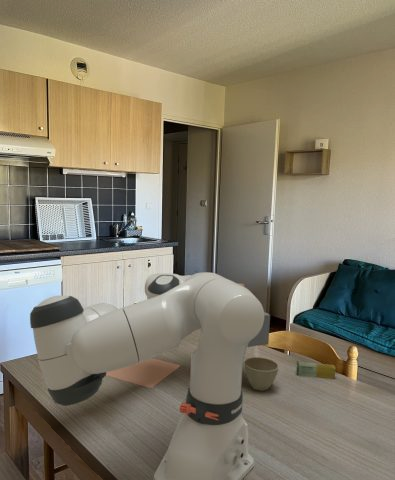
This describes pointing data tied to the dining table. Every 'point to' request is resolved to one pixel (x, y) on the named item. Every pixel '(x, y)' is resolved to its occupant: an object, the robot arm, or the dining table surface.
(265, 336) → the cover
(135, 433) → the dining table surface
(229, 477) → the robot arm
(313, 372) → the medication box
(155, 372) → the mat
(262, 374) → the flower pot
